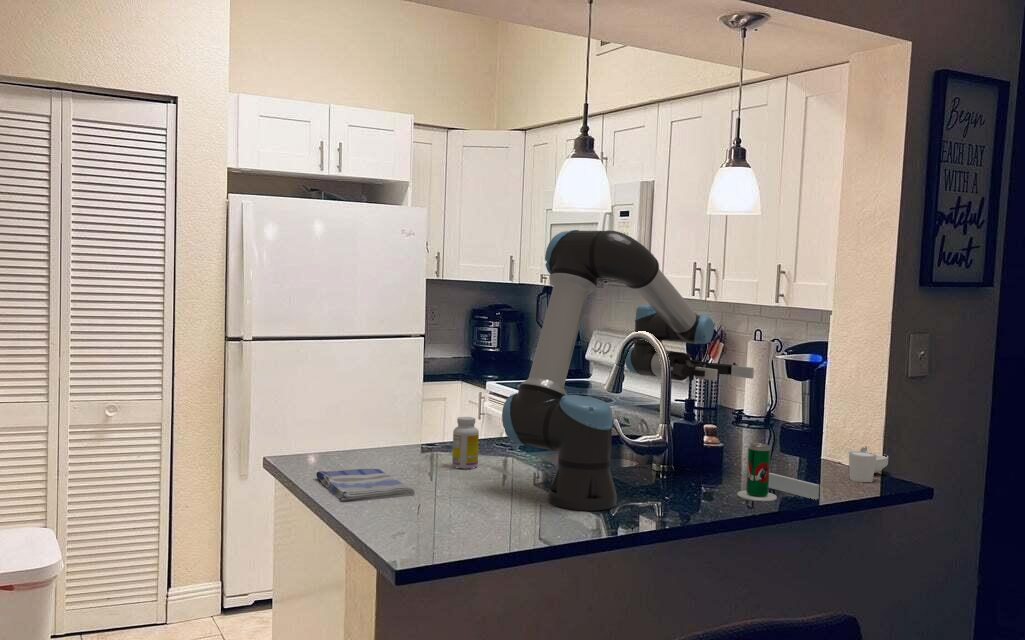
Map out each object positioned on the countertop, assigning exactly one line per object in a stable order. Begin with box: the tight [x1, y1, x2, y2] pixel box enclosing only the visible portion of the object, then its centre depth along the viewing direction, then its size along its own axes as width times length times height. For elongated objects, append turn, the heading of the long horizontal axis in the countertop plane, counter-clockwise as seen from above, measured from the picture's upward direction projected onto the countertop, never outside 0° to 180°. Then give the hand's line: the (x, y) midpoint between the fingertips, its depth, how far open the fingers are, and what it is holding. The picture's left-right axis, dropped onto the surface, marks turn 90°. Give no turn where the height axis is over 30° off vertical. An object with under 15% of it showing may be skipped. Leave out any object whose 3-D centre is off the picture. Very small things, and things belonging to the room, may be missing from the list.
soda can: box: [745, 442, 771, 497], centre depth 208 cm, size 5×5×12 cm
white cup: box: [848, 451, 877, 483], centre depth 230 cm, size 7×7×7 cm
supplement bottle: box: [451, 416, 480, 469], centre depth 228 cm, size 7×7×13 cm
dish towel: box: [315, 468, 416, 502], centre depth 203 cm, size 17×24×3 cm
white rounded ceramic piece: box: [847, 446, 889, 474], centre depth 240 cm, size 10×12×7 cm
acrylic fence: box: [769, 472, 820, 501], centre depth 214 cm, size 18×1×4 cm, turn 36°
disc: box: [737, 489, 778, 503], centre depth 208 cm, size 9×9×1 cm
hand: (735, 374), depth 218 cm, fingers open, 13 cm apart
